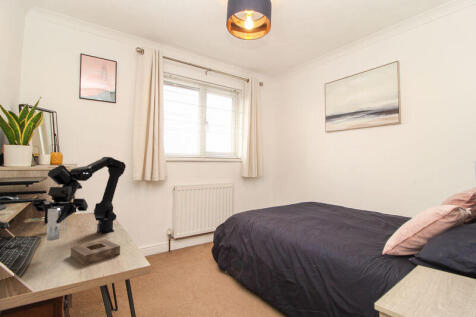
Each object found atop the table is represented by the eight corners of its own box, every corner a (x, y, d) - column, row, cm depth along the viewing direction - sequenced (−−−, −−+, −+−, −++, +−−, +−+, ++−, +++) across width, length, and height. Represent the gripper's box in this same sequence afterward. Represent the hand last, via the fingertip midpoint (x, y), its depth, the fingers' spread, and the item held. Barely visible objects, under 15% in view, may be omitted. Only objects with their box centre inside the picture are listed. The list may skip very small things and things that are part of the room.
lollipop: (54, 231, 122) (56, 203, 123) (57, 227, 129) (59, 201, 129) (70, 229, 126) (71, 202, 126) (72, 226, 132) (73, 200, 132)
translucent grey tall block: (57, 236, 94) (58, 207, 94) (60, 238, 91) (62, 208, 91) (45, 239, 90) (46, 208, 91) (48, 241, 88) (49, 210, 88)
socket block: (105, 247, 101) (105, 239, 102) (120, 254, 94) (120, 245, 94) (70, 256, 91) (71, 247, 91) (84, 265, 83) (84, 255, 83)
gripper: (35, 179, 93) (13, 212, 82) (85, 179, 97) (71, 211, 86) (46, 195, 101) (27, 227, 90) (93, 195, 104) (80, 226, 93)
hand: (51, 223), depth 90 cm, fingers closed on translucent grey tall block, 4 cm apart
